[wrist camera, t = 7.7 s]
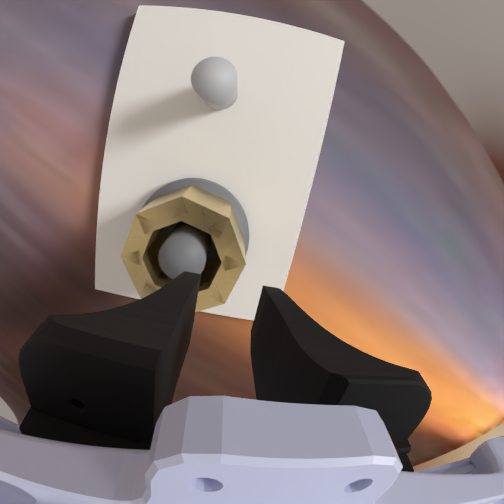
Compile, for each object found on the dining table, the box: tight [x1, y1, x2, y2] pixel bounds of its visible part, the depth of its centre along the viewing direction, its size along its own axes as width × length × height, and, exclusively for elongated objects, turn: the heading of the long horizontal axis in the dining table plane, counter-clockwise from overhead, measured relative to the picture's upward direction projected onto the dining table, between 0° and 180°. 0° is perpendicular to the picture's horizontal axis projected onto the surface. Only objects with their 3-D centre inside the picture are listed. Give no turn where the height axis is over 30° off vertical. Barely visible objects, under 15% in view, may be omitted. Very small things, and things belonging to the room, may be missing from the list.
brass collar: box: [121, 184, 246, 312], centre depth 16 cm, size 5×5×4 cm
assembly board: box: [95, 6, 345, 320], centre depth 15 cm, size 18×12×6 cm, turn 168°
